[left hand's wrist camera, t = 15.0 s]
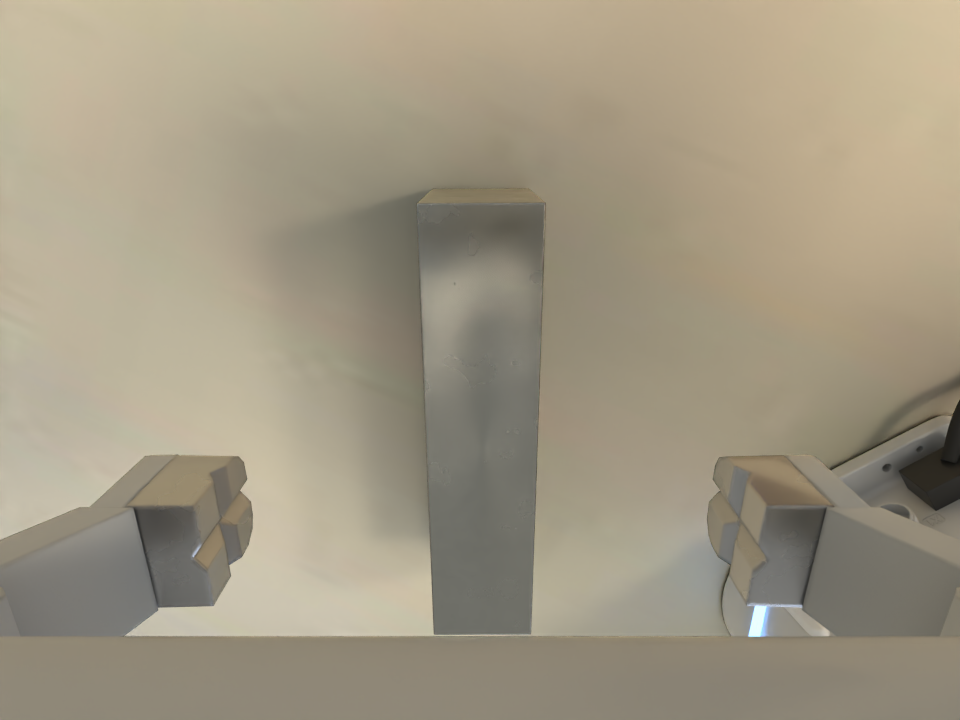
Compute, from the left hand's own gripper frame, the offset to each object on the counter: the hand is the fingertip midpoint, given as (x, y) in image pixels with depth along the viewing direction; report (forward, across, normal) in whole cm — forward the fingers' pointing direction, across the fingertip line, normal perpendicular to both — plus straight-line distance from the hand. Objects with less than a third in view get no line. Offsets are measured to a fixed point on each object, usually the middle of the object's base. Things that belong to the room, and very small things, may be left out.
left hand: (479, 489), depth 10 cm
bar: (+25, 0, +8) cm, 27 cm away
